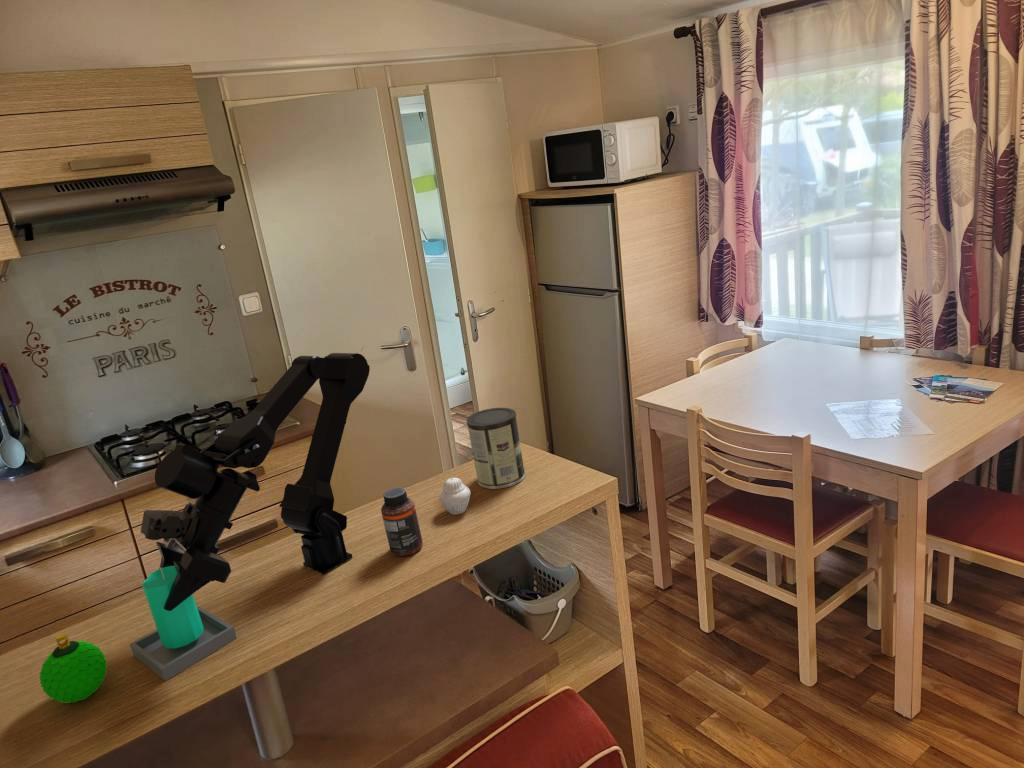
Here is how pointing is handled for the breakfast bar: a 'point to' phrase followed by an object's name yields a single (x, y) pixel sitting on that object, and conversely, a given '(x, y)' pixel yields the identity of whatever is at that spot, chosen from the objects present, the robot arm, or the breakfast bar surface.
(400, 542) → the supplement bottle
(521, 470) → the coffee can
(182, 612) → the candle
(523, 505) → the breakfast bar surface
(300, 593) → the breakfast bar surface
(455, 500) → the muffin
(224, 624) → the tray
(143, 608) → the breakfast bar surface
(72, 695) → the ornament
